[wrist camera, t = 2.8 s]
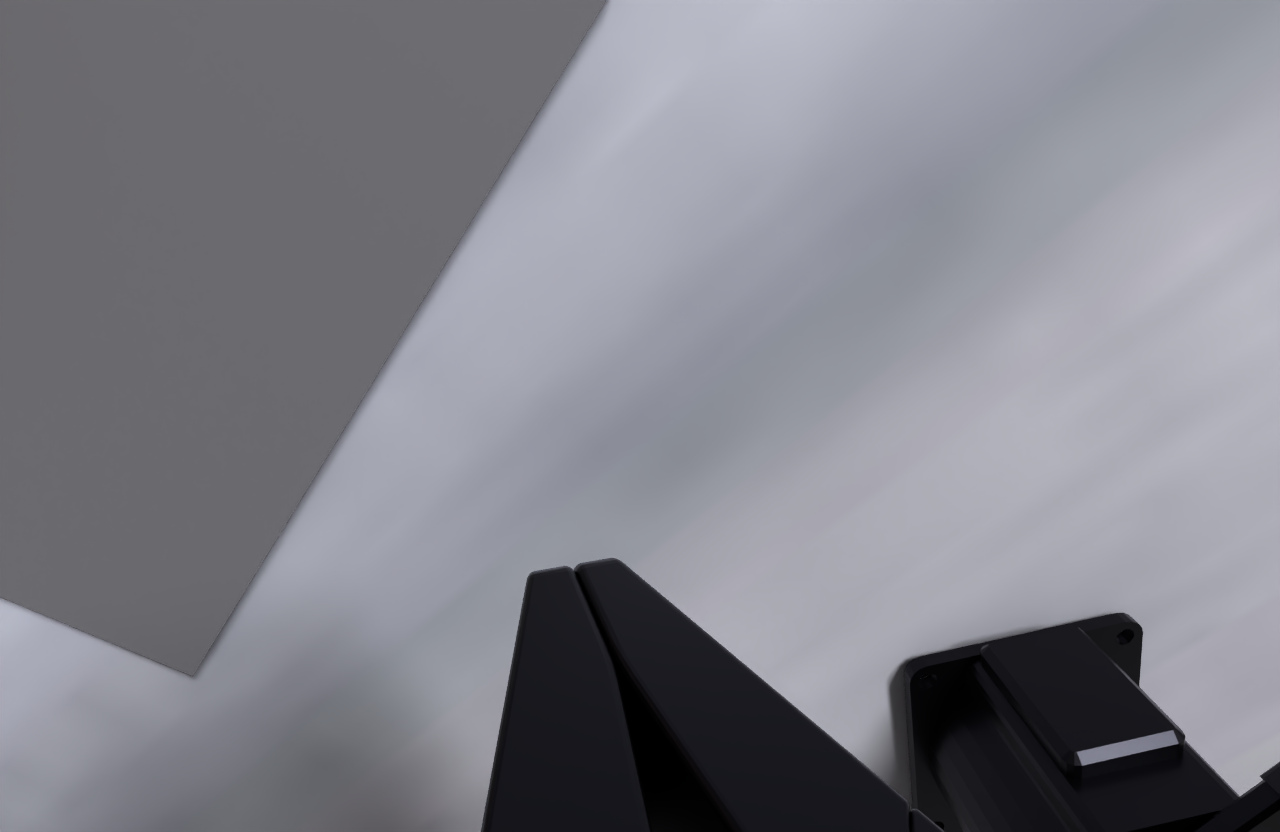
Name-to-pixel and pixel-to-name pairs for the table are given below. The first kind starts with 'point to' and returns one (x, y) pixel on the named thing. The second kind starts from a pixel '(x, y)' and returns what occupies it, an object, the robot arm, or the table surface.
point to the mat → (222, 269)
